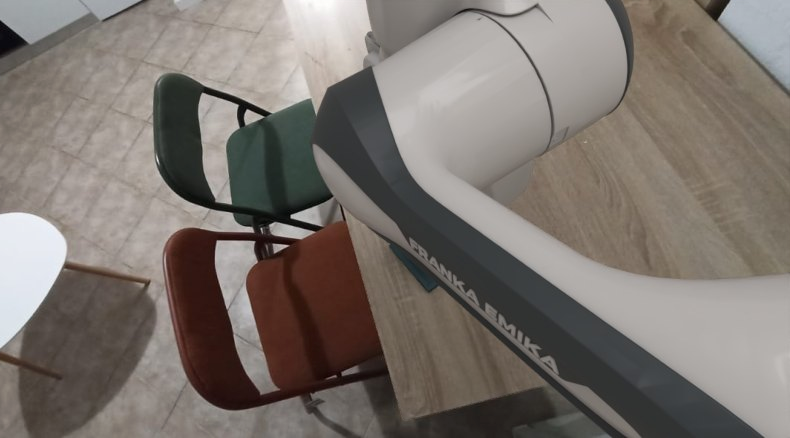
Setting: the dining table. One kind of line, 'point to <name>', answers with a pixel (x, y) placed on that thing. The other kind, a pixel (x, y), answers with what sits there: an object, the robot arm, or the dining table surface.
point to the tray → (416, 271)
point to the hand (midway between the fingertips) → (439, 163)
